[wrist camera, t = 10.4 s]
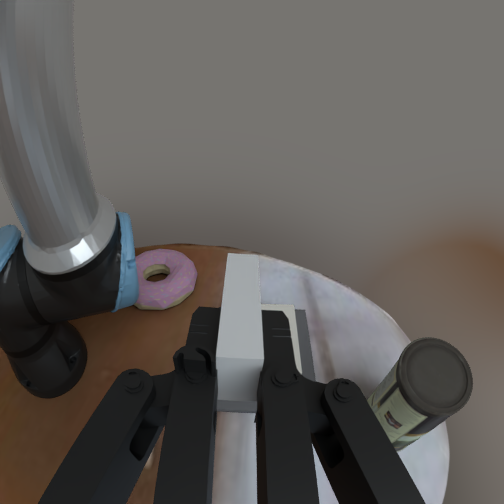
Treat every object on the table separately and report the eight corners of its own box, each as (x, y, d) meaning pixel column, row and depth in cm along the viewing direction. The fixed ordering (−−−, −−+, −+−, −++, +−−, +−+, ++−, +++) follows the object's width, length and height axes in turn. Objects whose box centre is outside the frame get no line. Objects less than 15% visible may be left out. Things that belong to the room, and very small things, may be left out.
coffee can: (423, 406, 31) (475, 353, 23) (404, 463, 24) (467, 425, 16) (369, 383, 36) (409, 324, 28) (342, 439, 29) (387, 395, 21)
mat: (206, 410, 33) (206, 408, 32) (219, 310, 48) (218, 307, 48) (317, 411, 33) (319, 409, 32) (304, 312, 48) (304, 309, 48)
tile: (226, 371, 34) (232, 302, 45) (227, 381, 36) (232, 314, 46) (302, 373, 34) (293, 304, 45) (298, 382, 36) (291, 315, 47)
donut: (139, 328, 44) (131, 308, 41) (113, 280, 53) (107, 261, 50) (213, 293, 52) (212, 273, 49) (176, 255, 61) (174, 236, 58)
